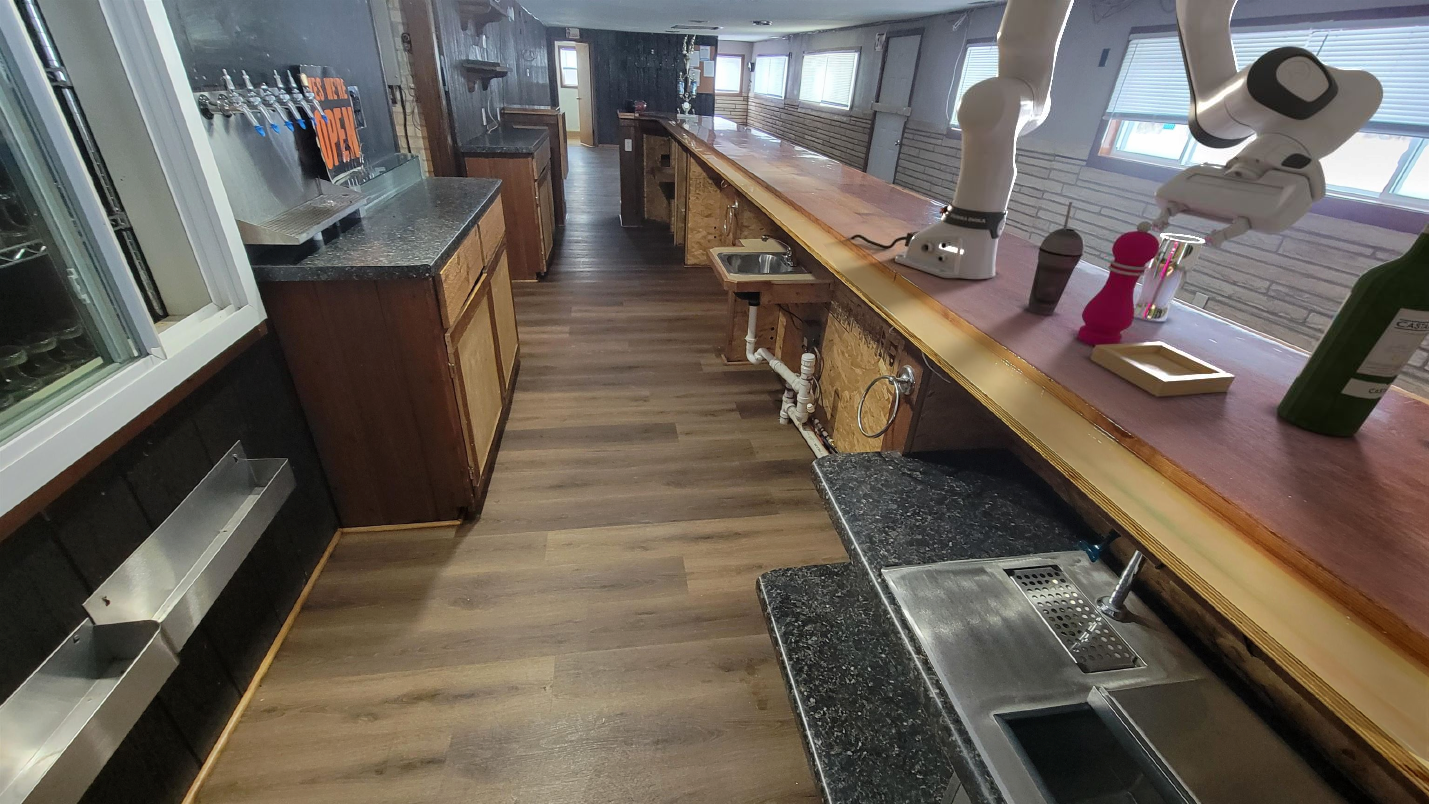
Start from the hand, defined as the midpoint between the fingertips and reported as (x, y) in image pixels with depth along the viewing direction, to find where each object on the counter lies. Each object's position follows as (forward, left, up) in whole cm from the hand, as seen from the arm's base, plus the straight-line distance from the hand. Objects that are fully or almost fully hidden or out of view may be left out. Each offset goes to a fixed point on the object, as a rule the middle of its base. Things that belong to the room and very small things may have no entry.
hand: (1181, 235), depth 89 cm
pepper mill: (-4, -7, -18) cm, 20 cm away
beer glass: (-1, +15, -18) cm, 24 cm away
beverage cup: (-16, +1, -18) cm, 24 cm away
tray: (+6, -15, -18) cm, 24 cm away
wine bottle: (+24, -15, -18) cm, 33 cm away
